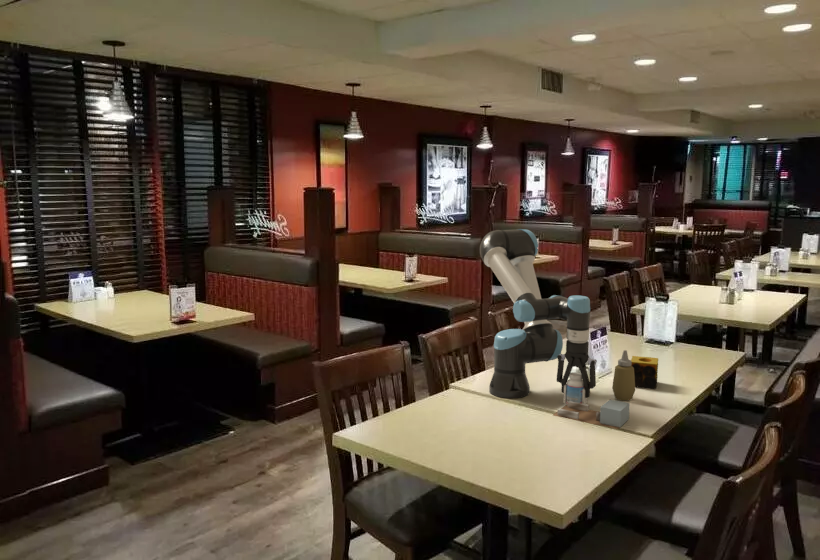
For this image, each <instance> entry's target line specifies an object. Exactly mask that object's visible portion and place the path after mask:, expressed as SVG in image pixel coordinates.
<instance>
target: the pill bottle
mask: <svg viewBox="0 0 820 560" xmlns="http://www.w3.org/2000/svg"><path fill="white" fill-rule="evenodd" d="M566 384H567V398H566V404H568V402H569V401H572V402H577V403H582V392H583V388H585V387H584V383H583V379H582V375H581V372H577V371H575V372H572V371H571V373H570V374H569V378H568V381H567V383H566Z"/></svg>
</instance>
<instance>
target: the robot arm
mask: <svg viewBox="0 0 820 560" xmlns="http://www.w3.org/2000/svg"><path fill="white" fill-rule="evenodd" d="M538 248H539V241H538V238H537V236H536V235H535V233H534V232H532V231H531V230H529V229H522V228H517V229H501V230H500V229H496V230H491V231H489V232H488V233H486V234H485V236H484V237H483V238H482V240H481V241H480V245H479V255H480V258H481V260H482V262H483V264H484V265H485V266H486V267H488V268H490V269H491V271H492V272H493V273H494V275H495V277H496V278H497V280H498V281H499V282H500V285H501V286H502V287H503V289H504V290H505V292H506V293H507V295H508V297H509V298H510V299H511V301H512V302H513V306H512V313H513V317H514V319H515V320H516V321H517V322H522V323H524V326H523V328H522V329H521V328H509V329H504V330H501V331H499V332H497V333H496V334H495V336H494V342H493V348H494V350H493V352H494V354H493V355H494V356H493V365H494V367H493V368H494V369H493V374H492V377H491V380H490V383H489V393H490V394H491V395H494V396H496V397H500V398H509V399H516V398H517V399H518V398H524V397H527V396H529V394H530V392H531V389H530V388H531V387H530V384H529V381H528V377H527V373H526V364H533V363H540V362H549V361H550V362H551V361H555V360H557V372H556V382H557V383H560V384H561V393H562V394H563V401H562V402H563V404H567V402H566V398H567V381H568V380H569V379H570V378H569V374H570V373H572V370H573V367H576V368H578V369H579V373H581V375H582V380H583V383H584V387H585V388H583V392H582V404H587V405H588V398H589V397H590V396H591V389H594V388H595V387H597V385H596V384H597V382H596V378H597V376H596V375H597V374H596V365H597V363H598V361H597V359H596V358H594V359H593V358H591V357H590V356H589V340H590V323H591V322H590V317H591V300H590V298H589V297H588V296H585V295H580V294H579V295H577V294H576V295H570V296H569V297H568V298H567V297H565V296H562V295H556V294H553V295H551V296H550V297H548V298H542V295H541V291H540V287H539V283H538V279H537V275H536V272H535V268H534V264H533V263H534V261H535V260H536V256H537V254H538V252H539V249H538ZM556 319H561V320H565V321H566V343H565V344H566V345H565V353H564V354H563V353H562V351H563V346H564V341H563V340H564V339H563V336H562V333H561V332H560V330H558V329H555V328H554V327H553V323H552V322H550V320H556ZM565 359H566V361H567V365H566V368H565V372H564V367H565ZM587 363H588V365H589V367H588V368H589V375H588V371H587V365H586V364H587Z"/></svg>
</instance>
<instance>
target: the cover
mask: <svg viewBox="0 0 820 560" xmlns="http://www.w3.org/2000/svg"><path fill="white" fill-rule="evenodd" d="M599 412H600V423H602V424H606V425H611V426H616V427H619V428H621V427H622V426H623V425H624V424H625V423H626V422H627V421H629V419H630V402H628V401H622V400H617V399H616V400H615V399H609V400H607V401H606V402H605V403H603V404H602V405H601V406H600V410H599Z"/></svg>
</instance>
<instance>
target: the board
mask: <svg viewBox="0 0 820 560" xmlns="http://www.w3.org/2000/svg"><path fill="white" fill-rule="evenodd" d="M552 416H553V417H559V418H562V419H563V418H564V419H569V420H572V421H577V422H582V423H586V424H592V425H596V426H601V427H605V428H611V429H614V430H615V429H616V430H619V429H620V427H616V426H611V425H606V424H602V423H600V410H599V411H598V410H594V409H593V410H592V409H590V404H588V403H587V404H582V403H577V402H572V401H569V402H568V403H567V404H565V405H564V406H563V407H561V408H558V409H557V410H556V412H554V413H553V414H552Z"/></svg>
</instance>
